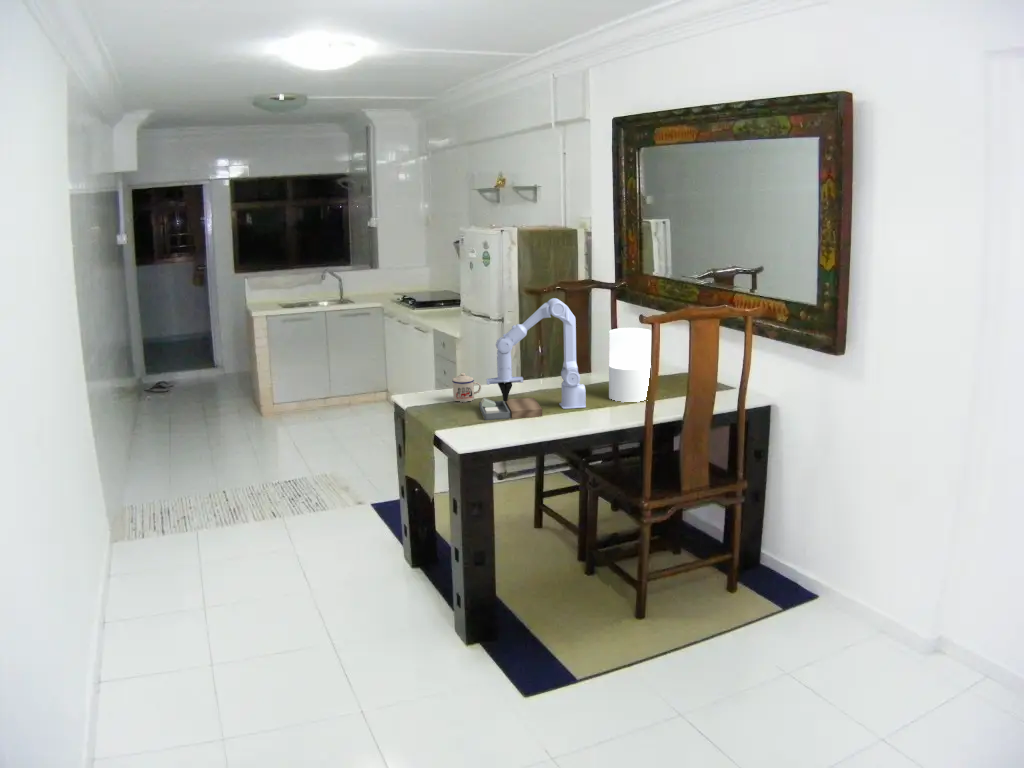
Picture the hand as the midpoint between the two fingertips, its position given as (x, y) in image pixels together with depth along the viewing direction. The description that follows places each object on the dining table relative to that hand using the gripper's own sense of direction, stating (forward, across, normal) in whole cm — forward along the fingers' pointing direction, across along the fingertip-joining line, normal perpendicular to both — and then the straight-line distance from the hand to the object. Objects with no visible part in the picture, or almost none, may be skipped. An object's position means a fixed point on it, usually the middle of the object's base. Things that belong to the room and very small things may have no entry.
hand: (505, 400), depth 337 cm
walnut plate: (+4, +6, -4) cm, 9 cm away
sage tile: (0, -6, 0) cm, 6 cm away
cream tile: (+1, -7, -9) cm, 11 cm away
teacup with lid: (+4, -14, +19) cm, 24 cm away
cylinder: (+4, +54, +7) cm, 54 cm away
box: (+4, -5, -4) cm, 8 cm away
